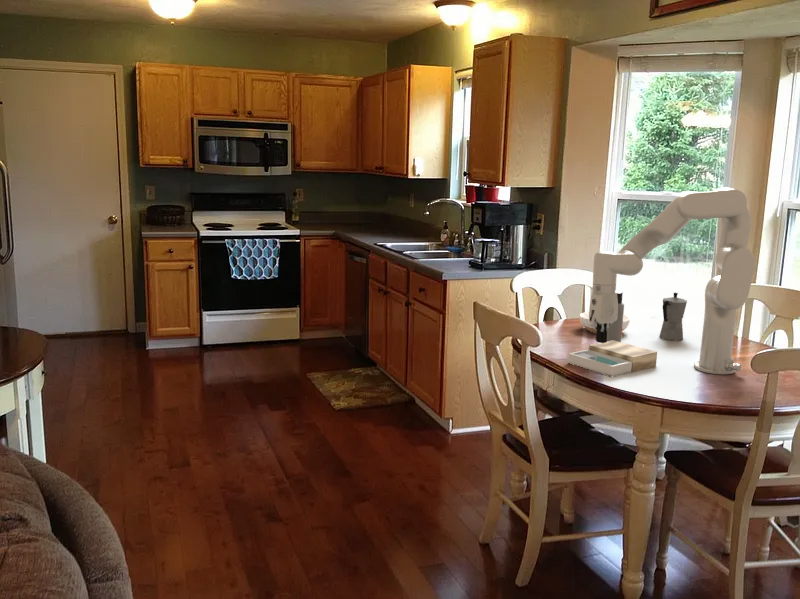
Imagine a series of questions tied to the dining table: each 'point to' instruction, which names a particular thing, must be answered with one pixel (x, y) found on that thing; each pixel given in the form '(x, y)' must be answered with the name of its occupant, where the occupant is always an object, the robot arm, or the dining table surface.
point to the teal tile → (605, 360)
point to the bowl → (587, 324)
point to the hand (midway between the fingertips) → (601, 342)
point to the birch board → (627, 353)
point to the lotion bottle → (617, 321)
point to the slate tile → (586, 356)
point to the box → (600, 363)
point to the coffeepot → (673, 318)
